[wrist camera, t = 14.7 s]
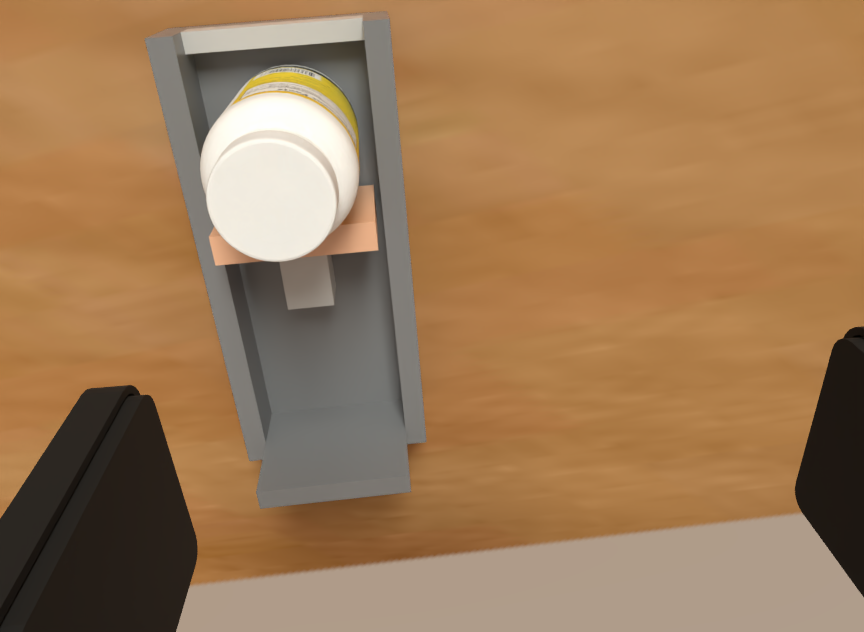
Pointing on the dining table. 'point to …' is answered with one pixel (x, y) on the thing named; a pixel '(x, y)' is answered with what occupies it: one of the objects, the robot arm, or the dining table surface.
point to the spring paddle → (316, 255)
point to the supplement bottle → (282, 164)
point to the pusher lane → (354, 272)
